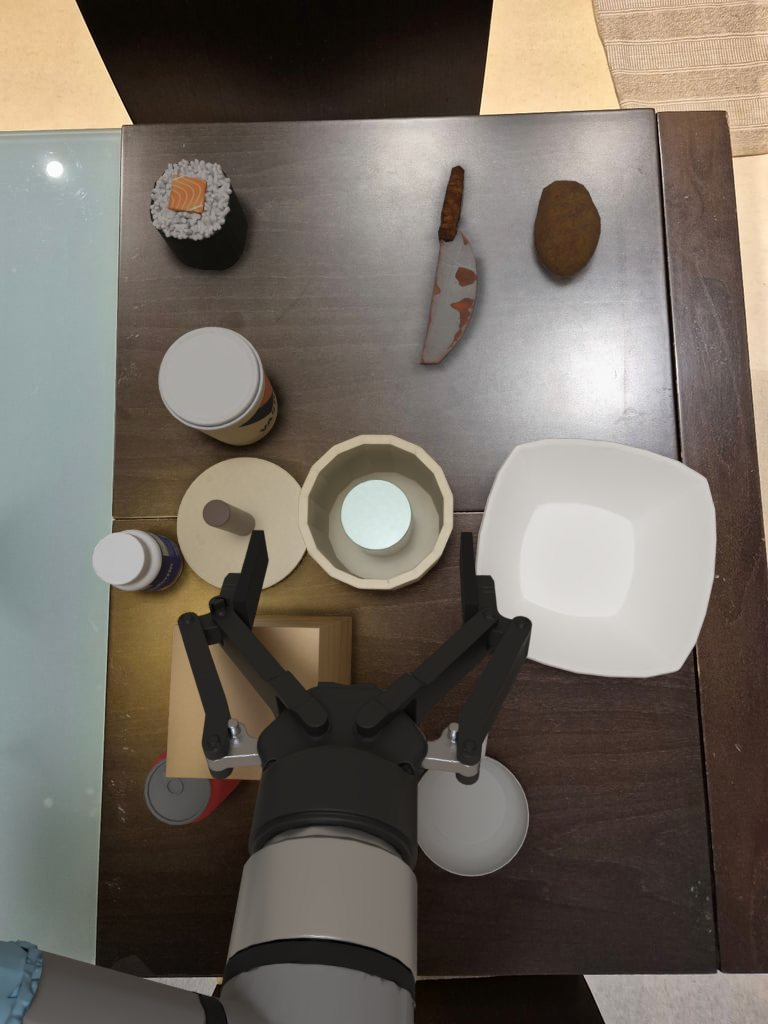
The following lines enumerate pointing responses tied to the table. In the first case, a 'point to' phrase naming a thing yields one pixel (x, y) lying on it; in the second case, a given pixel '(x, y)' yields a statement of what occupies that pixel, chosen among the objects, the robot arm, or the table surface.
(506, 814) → the small pan
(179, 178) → the sushi
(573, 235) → the potato
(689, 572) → the bowl
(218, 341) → the coffee cup
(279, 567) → the lid
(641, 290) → the table surface
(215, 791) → the beer can
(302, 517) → the pot
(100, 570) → the pill bottle
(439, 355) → the kitchen knife
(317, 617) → the stand
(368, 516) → the canister
